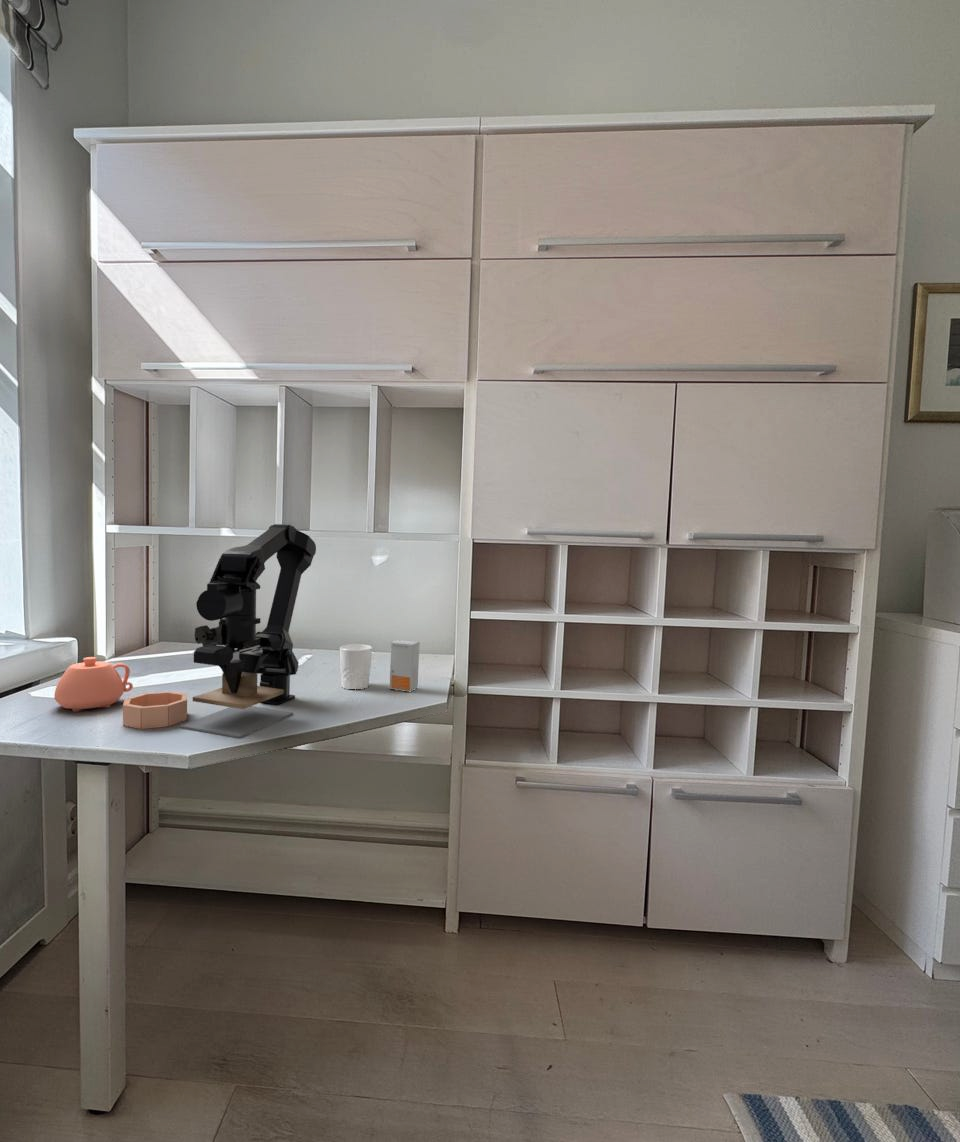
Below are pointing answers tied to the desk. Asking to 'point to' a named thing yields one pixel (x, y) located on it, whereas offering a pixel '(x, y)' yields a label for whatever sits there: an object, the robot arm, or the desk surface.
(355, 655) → the white cup
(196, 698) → the cover
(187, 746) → the desk surface
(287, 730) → the desk surface
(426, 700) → the desk surface
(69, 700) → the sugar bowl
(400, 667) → the skincare box
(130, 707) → the bowl
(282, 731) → the desk surface
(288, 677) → the robot arm
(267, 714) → the mat
